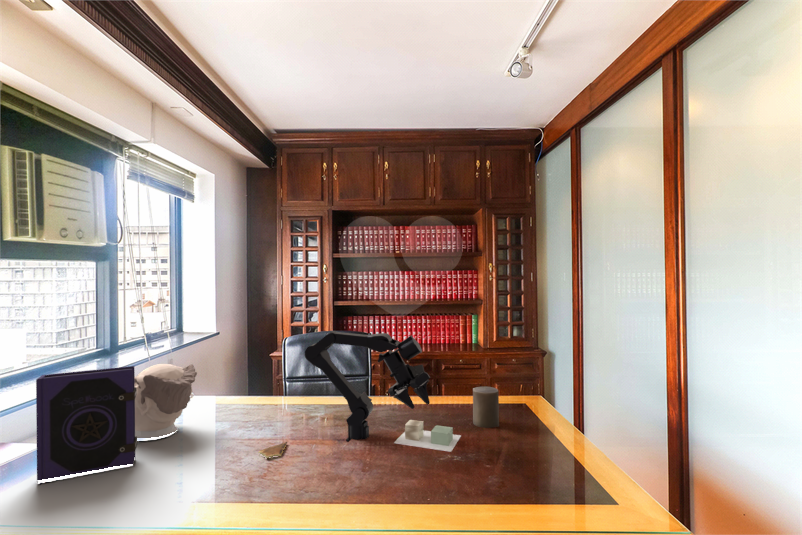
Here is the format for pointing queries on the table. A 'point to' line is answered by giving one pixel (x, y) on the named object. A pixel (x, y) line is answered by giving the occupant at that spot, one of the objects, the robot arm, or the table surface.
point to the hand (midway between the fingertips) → (420, 406)
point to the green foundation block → (442, 435)
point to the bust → (161, 398)
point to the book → (85, 421)
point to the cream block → (414, 430)
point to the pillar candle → (486, 407)
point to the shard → (273, 450)
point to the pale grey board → (427, 442)
